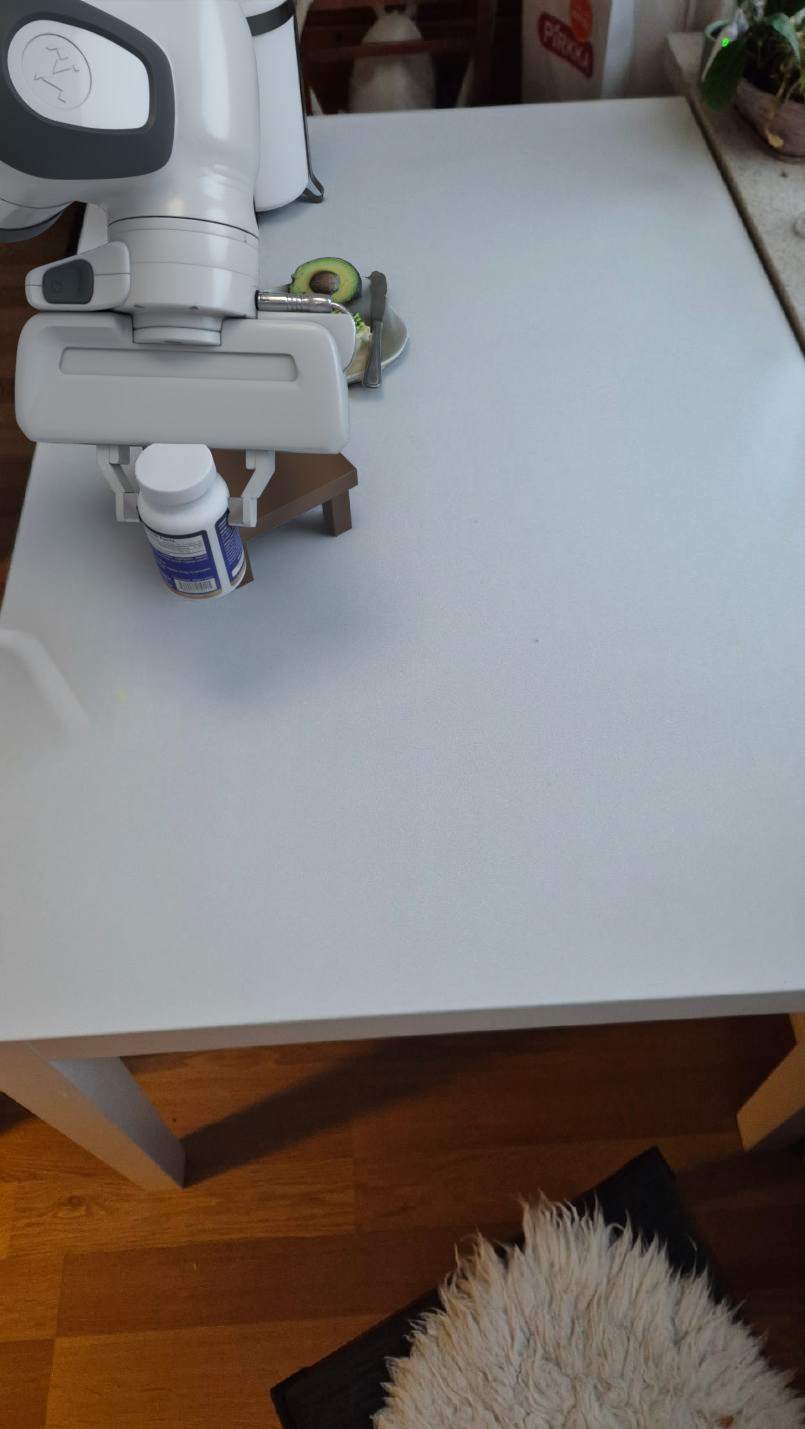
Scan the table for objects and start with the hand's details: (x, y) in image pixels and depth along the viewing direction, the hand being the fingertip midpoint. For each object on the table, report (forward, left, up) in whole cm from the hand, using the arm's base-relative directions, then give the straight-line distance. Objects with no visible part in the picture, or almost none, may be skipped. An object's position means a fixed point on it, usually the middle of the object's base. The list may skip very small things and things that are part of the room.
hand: (186, 524), depth 63 cm
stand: (+11, +15, -18) cm, 26 cm away
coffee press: (+36, +58, -19) cm, 71 cm away
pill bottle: (0, 0, -6) cm, 6 cm away
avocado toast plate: (+29, +33, -19) cm, 48 cm away
